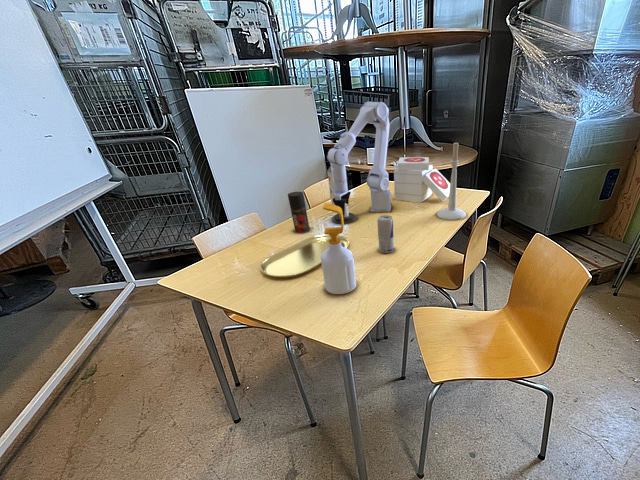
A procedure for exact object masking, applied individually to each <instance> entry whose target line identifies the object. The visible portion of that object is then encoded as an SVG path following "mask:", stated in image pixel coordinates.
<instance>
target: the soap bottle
mask: <svg viewBox="0 0 640 480" xmlns="http://www.w3.org/2000/svg"><path fill="white" fill-rule="evenodd" d="M322 209H323V210H326V211H329V212H333V213H336V214H339V215H340V219H341V224H340V226H332V227H325V228H324V233H323V235H329V236H331V239H329V248H328V249H327V250H325V251H324V252H323V254H322V255H321V263H322V264H321V268H322V274H323V280H324V286H325V290H326V292H328V293H330V294H332V295H333V294H334V295H344V294H348V293H351V292H353V290H355V289H356V286H357V277H356V268H355V260H354V259H355V258H354V254H353V253H352V251H351V250H350V249H348V248H345V247H342V245H341V239H340V238H337V236H338V235H339V236H340V234H342V233H343V232H344V228H345V227H344V226H345V224H344V220H343V212H342V209H341V208H340V207H339V206H336V205H332V203H327V202H324V204H323V206H322Z"/></svg>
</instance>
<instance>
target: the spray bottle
mask: <svg viewBox="0 0 640 480" xmlns="http://www.w3.org/2000/svg"><path fill="white" fill-rule="evenodd" d="M354 214H355V213H353V212H350V211H349V203H348V204H346V203H345V213H344V215H343V220H350V219H353V218H354ZM333 216H334V219H336V220H340V221H341V219H340V215H339V214H338V213H336V214H334V215H333Z"/></svg>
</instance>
